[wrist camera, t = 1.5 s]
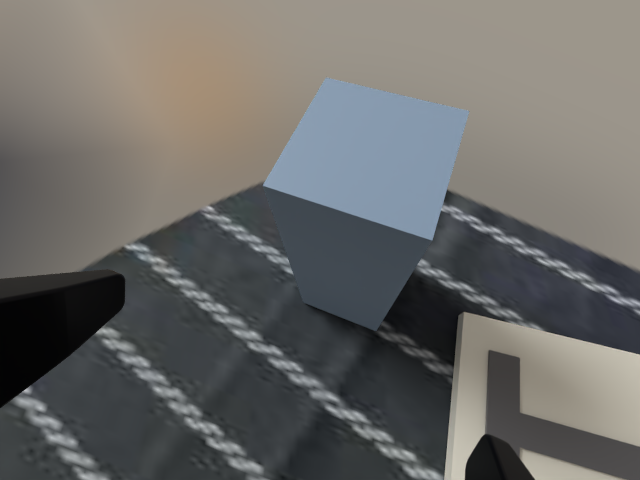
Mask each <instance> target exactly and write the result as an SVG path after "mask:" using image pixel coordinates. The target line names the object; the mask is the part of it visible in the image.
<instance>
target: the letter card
mask: <svg viewBox="0 0 640 480" xmlns="http://www.w3.org/2000/svg"><path fill="white" fill-rule="evenodd" d="M484 434H491V435H493V436H495V437H497V438H500V439H502V440H504V441H506V442H507V443H509V444H510V446H511V447H512V448H513V450H514V451H515V452H516V454H517V455H518V457H519V458H520V459H521V461H522V462H523V463H524V465H525V466H526V468H527V469H528V470H529V472H530V473H531V474H532V476H533V477H534V479H535V480H640V355H638V354H634V353H630V352H626V351H622V350H618V349H614V348H610V347H606V346H602V345H597V344H593V343H589V342H585V341H581V340H577V339H573V338H569V337H565V336H561V335H557V334H552V333H548V332H544V331H540V330H536V329H532V328H528V327H524V326H520V325H516V324H512V323H508V322H503V321H499V320H495V319H491V318H487V317H483V316H479V315H475V314H471V313H467V312H463V313H462V314H460V315H459V316H458V326H457V337H456V349H455V361H454V372H453V384H452V395H451V407H450V419H449V430H448V442H447V454H446V465H445V477H444V480H465V468H466V463H467V460H468V458H469V456H470V455H471V453H472V451H473V450H474V448H475V447H476V445H477V443H478V442H479V440H480V438H481V437H482V436H483V435H484Z"/></svg>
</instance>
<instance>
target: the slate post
mask: <svg viewBox="0 0 640 480" xmlns="http://www.w3.org/2000/svg"><path fill="white" fill-rule="evenodd" d="M468 114H469V111H467V110H462V109H458V108H454V107H449V106H445V105H440V104H436V103H432V102H428V101H424V100H419V99H415V98H411V97H406V96H402V95H398V94H394V93H390V92H386V91H381V90H376V89H372V88H368V87H364V86H359V85H356V84H351V83H347V82H343V81H339V80H334V79H330V78H326V79H325V80H324V82H323V84H322V85H321V87H320V89H319V90H318V92H317V94H316V96H315V97H314V99H313V101H312V103H311V104H310V106H309V108H308V109H307V111H306V113H305V114H304V116H303V118H302V120H301V121H300V123H299V125H298V126H297V128H296V130H295V132H294V133H293V135H292V137H291V139H290V140H289V142H288V143H287V145H286V147H285V149H284V150H283V152H282V154H281V156H280V157H279V159H278V161H277V162H276V164H275V166H274V167H273V169H272V171H271V173H270V174H269V176H268V178H267V179H266V181H265V183H264V184H263V188H264V191H265V193H266V196H267V199H268V202H269V205H270V208H271V211H272V214H273V216H274V219H275V222H276V225H277V228H278V231H279V234H280V237H281V239H282V242H283V245H284V248H285V251H286V254H287V257H288V260H289V263H290V265H291V268H292V271H293V274H294V277H295V280H296V283H297V286H298V288H299V291H300V294H301V297H302V300H303V303H306V304H308V305H311V306H313V307H316V308H318V309H321V310H323V311H326V312H328V313H331V314H333V315H336V316H338V317H341V318H343V319H346V320H349V321H351V322H354V323H356V324H359V325H361V326H364V327H366V328H369V329H371V330H374V331H377V329H378V327H379V326H380V324H381V323H382V321H383V319H384V318H385V316H386V314H387V313H388V311H389V310H390V308H391V306H392V305H393V303H394V302H395V300H396V298H397V297H398V295H399V293H400V292H401V290H402V289H403V287H404V285H405V284H406V282H407V280H408V279H409V277H410V276H411V274H412V272H413V271H414V269H415V267H416V266H417V264H418V263H419V261H420V259H421V258H422V256H423V255H424V253H425V251H426V250H427V248H428V246H429V245H430V243H431V242H432V239H433V236H434V232H435V229H436V225H437V222H438V218H439V215H440V211H441V208H442V204H443V201H444V198H445V194H446V191H447V187H448V184H449V180H450V177H451V173H452V170H453V166H454V163H455V159H456V155H457V152H458V149H459V145H460V141H461V138H462V135H463V131H464V128H465V124H466V121H467V117H468Z"/></svg>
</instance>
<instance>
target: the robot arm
mask: <svg viewBox="0 0 640 480" xmlns="http://www.w3.org/2000/svg"><path fill="white" fill-rule="evenodd" d="M124 303H125V278H124V276H123V275H122V274H120V273H117V272H115V271H113V270H109V269H105V270H94V271H83V272H72V273H62V274H61V273H60V274H49V275H38V276H27V277H16V278H5V279H0V408H1V407H3V406H4V405H5V404H7V403H8V402H9V401H11V400H12V399H13V398H15V397H16V396H17V395H19V394H20V393H21V392H22V391H24V390H25V389H26V388H28V387H29V386H30V385H32V384H33V383H34V382H36V381H37V380H38V379H40V378H41V377H42V376H44V375H45V374H46V373H48V372H49V371H50V370H52V369H53V368H54V367H55V366H57V365H58V364H59V363H61V362H62V361H63V360H65V359H66V358H67V357H68V356H70V355H71V354H72V353H73V352H74V351H75V350H77V349H78V348H79V347H80V346H81V345H82V344H83V343H85V342H86V341H87V340H88V339H89V338H90V337H91V336H92V335H94V334H95V333H96V332H97V331H98V330H99V329H100V328H101V327H102V326H104V325H105V324H106V323H107V322H108V321H109V320H110V319H111V318H113V317H114V316H115V315H116V314H117V313H118V312H119V311H120V310H121V309H122V308H123V306H124ZM465 480H535V479H534V477H533V476H532V474H531V473H530V472H529V470H528V469H527V468H526V466H525V465H524V463H523V462H522V461H521V459H520V458H519V457H518V455H517V454H516V452H515V451H514V450H513V448H512V447H511V446H510V444H509V443H507V442H506V441H504V440H502V439H500V438H497V437H495V436H493V435H491V434H484V435H483V436H482V437H481V438H480V440H479V442H478V443H477V445H476V447H475V448H474V450H473V451H472V453H471V455H470V456H469V458H468V460H467V463H466V468H465Z"/></svg>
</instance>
